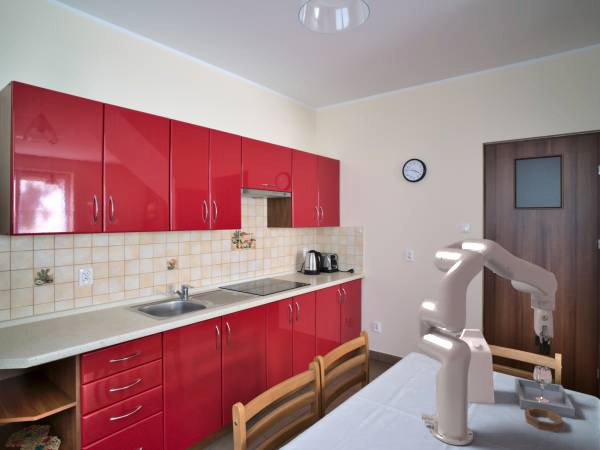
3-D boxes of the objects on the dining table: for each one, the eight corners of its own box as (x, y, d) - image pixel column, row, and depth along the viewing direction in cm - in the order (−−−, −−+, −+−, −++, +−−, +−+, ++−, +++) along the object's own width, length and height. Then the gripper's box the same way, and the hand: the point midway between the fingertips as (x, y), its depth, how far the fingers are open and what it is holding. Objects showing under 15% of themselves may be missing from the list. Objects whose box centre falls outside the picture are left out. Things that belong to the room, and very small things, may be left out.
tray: (520, 409, 133) (520, 399, 133) (514, 386, 151) (514, 377, 151) (574, 419, 126) (574, 409, 126) (561, 394, 144) (561, 385, 144)
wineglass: (555, 402, 136) (555, 370, 135) (543, 404, 134) (543, 372, 134) (541, 395, 141) (541, 364, 141) (529, 397, 140) (529, 366, 139)
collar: (527, 426, 121) (527, 419, 121) (523, 411, 131) (523, 405, 131) (565, 434, 117) (565, 427, 117) (558, 418, 126) (558, 411, 126)
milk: (482, 389, 148) (482, 325, 148) (494, 403, 137) (494, 334, 137) (451, 388, 150) (451, 325, 149) (461, 402, 138) (461, 334, 138)
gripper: (559, 310, 128) (559, 359, 128) (550, 301, 143) (549, 344, 143) (534, 308, 131) (533, 356, 131) (527, 299, 146) (527, 341, 147)
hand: (542, 350), depth 137 cm, fingers open, 9 cm apart
